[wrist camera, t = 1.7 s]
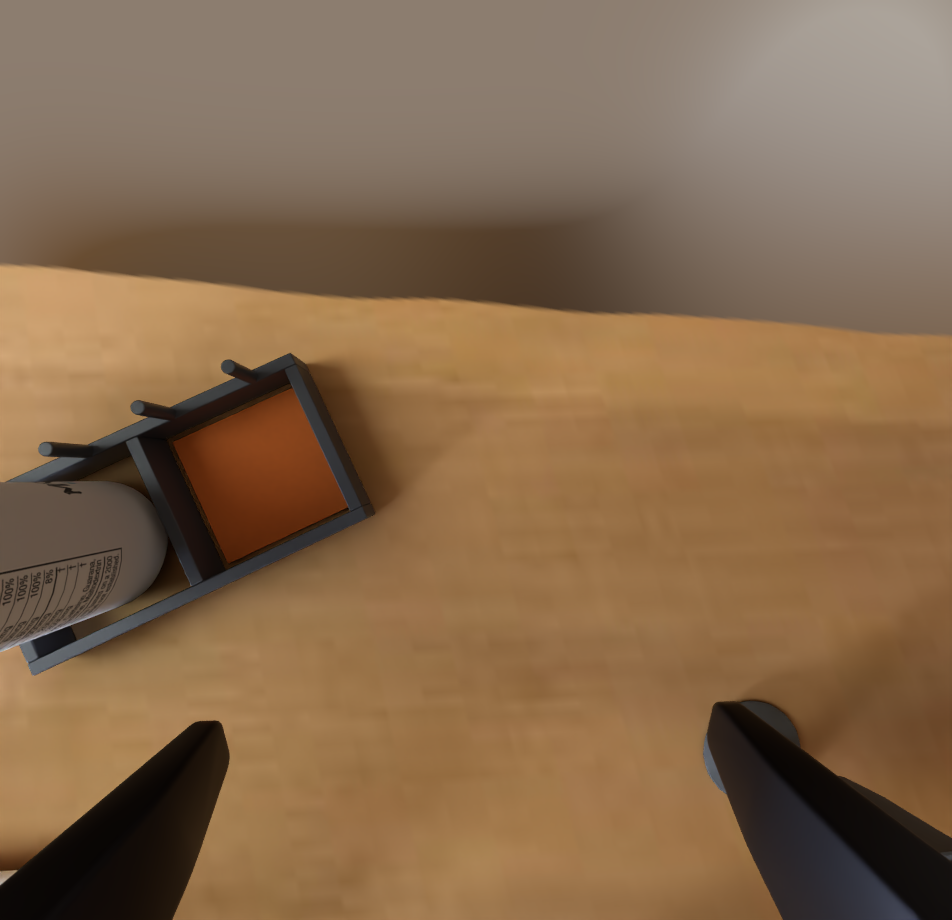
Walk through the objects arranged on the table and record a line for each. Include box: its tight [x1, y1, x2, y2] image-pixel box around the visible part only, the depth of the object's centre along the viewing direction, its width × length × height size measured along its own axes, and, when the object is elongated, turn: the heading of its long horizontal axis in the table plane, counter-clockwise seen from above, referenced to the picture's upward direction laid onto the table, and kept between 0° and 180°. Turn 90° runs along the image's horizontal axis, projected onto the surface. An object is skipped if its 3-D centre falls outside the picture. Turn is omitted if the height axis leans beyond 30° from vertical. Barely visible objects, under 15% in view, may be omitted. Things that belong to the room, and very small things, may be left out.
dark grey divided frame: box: [6, 353, 375, 675], centre depth 20 cm, size 8×16×4 cm, turn 115°
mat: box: [172, 387, 348, 564], centre depth 22 cm, size 7×7×1 cm
